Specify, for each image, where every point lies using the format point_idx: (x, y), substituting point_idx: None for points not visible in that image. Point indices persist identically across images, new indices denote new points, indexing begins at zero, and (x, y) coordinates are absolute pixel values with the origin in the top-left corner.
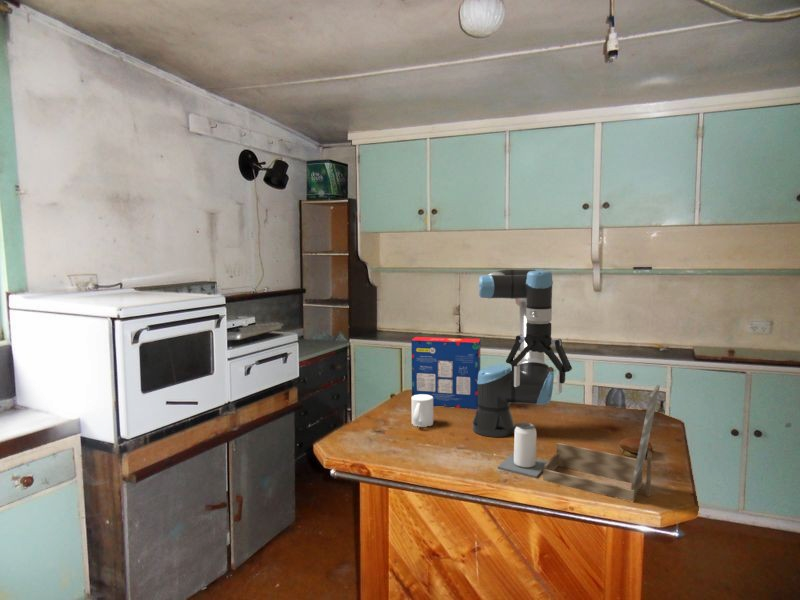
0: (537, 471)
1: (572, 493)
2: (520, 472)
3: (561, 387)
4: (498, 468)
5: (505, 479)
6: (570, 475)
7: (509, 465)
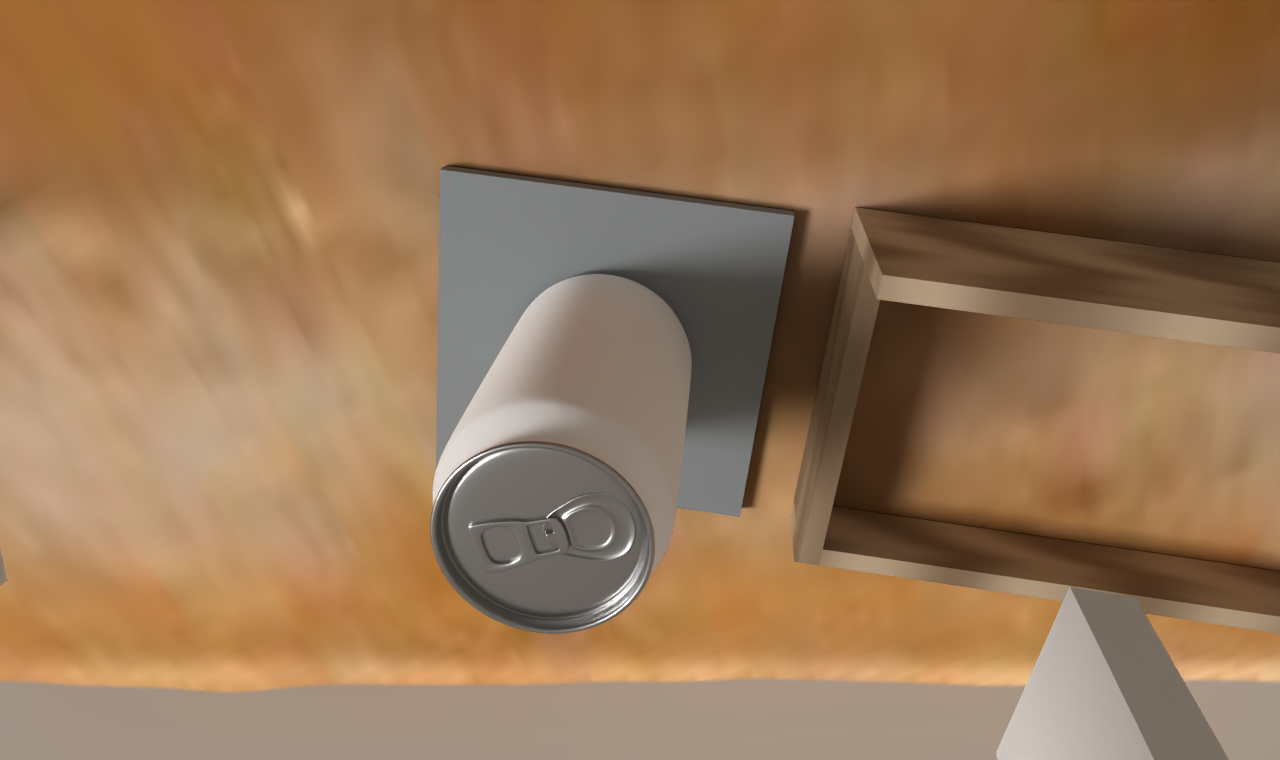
0: (731, 441)
1: (1007, 623)
2: None
3: (1179, 721)
4: None
5: None
6: (1008, 582)
7: None
